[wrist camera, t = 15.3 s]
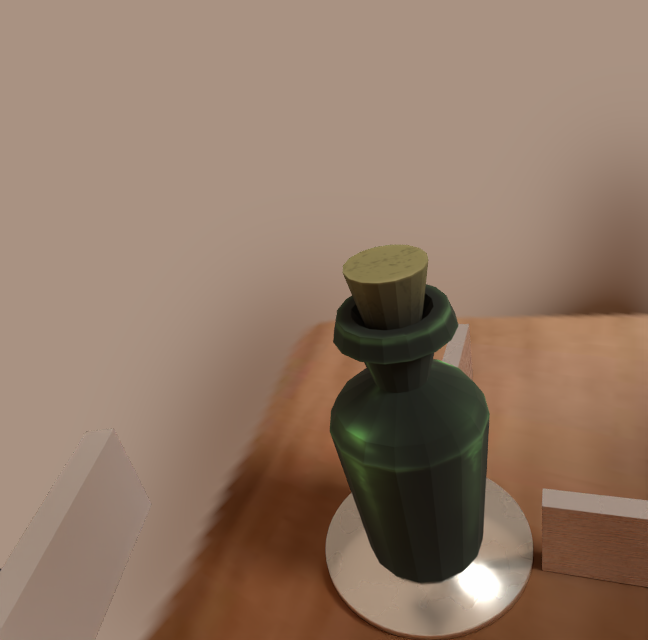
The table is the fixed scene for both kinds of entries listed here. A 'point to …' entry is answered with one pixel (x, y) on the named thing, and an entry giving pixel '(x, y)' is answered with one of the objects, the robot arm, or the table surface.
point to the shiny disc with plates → (489, 554)
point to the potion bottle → (409, 419)
